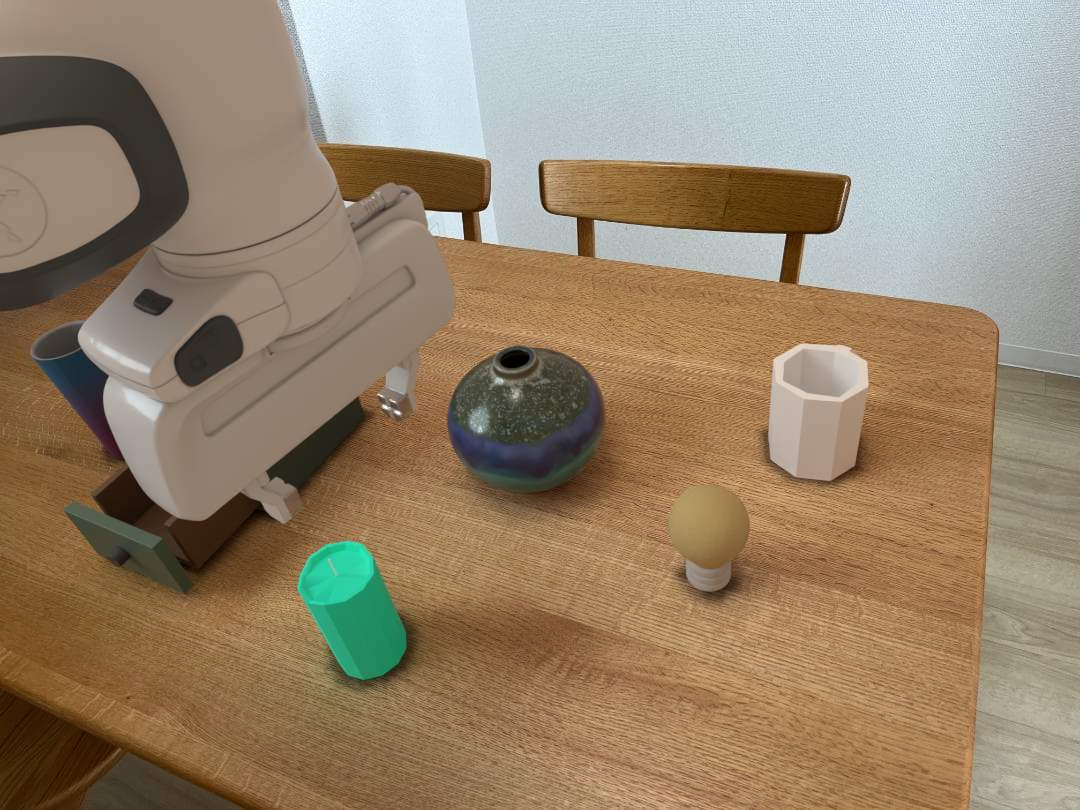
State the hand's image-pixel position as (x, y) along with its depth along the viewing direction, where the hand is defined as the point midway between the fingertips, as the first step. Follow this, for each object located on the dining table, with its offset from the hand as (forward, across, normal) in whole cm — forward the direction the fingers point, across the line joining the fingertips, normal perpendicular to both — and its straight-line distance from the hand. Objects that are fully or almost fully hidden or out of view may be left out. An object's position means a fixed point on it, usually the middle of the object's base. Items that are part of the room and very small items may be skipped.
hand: (347, 459), depth 48 cm
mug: (+26, -40, +15) cm, 50 cm away
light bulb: (+26, -20, +13) cm, 35 cm away
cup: (+26, -3, -52) cm, 58 cm away
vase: (+26, -24, -8) cm, 36 cm away
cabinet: (+26, -11, -35) cm, 45 cm away
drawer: (+25, +1, -33) cm, 41 cm away
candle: (+26, +1, -7) cm, 27 cm away
